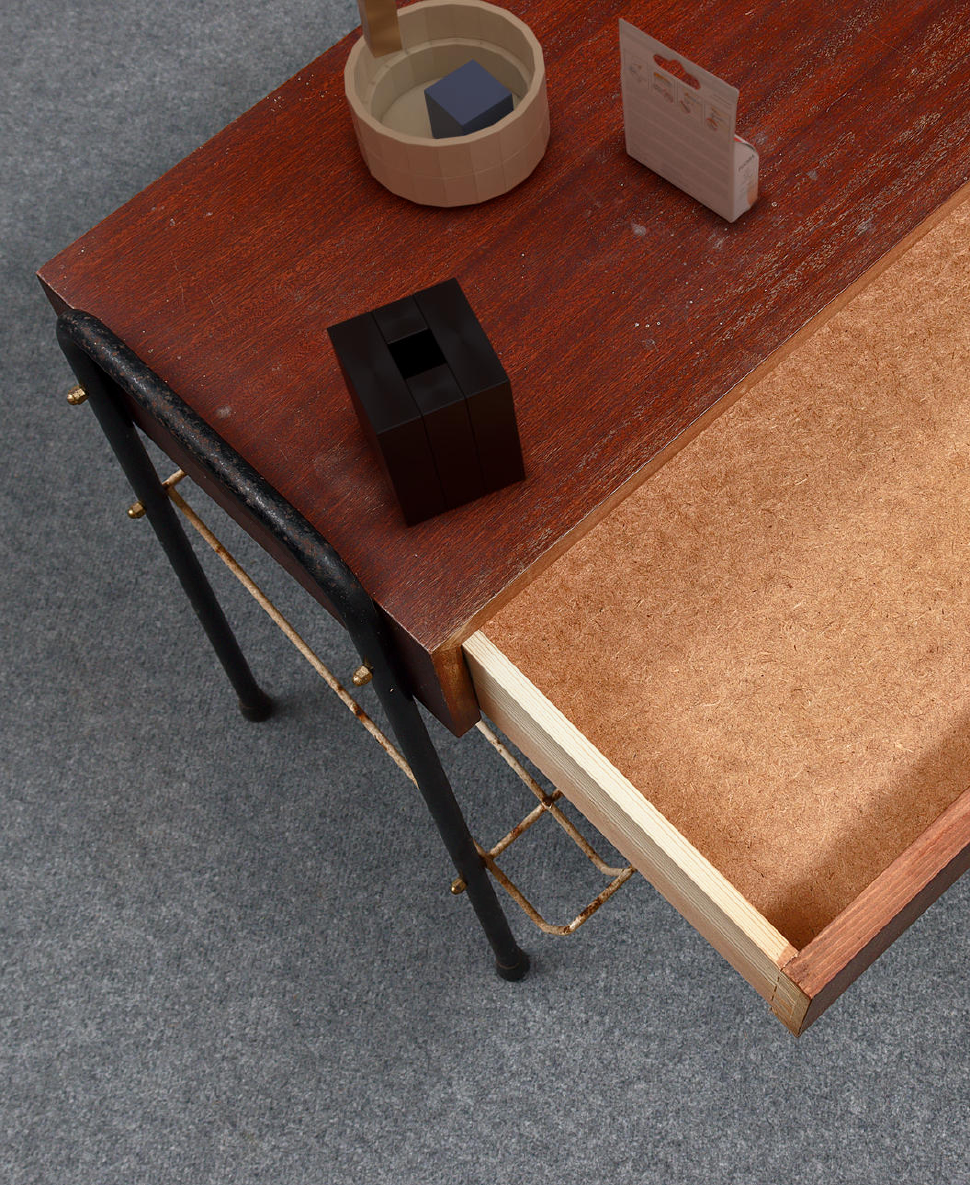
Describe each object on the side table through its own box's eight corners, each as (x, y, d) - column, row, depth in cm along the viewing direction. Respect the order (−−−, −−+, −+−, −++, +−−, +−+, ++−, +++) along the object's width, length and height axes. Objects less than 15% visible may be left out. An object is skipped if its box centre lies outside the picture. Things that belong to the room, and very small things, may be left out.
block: (469, 171, 90) (462, 125, 86) (432, 136, 91) (423, 90, 87) (517, 139, 91) (512, 93, 87) (480, 105, 92) (473, 58, 88)
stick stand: (407, 529, 79) (376, 434, 70) (361, 429, 82) (325, 327, 73) (526, 478, 80) (510, 379, 71) (476, 382, 83) (455, 276, 74)
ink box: (647, 131, 91) (647, -13, 81) (757, 203, 88) (771, 63, 78) (618, 157, 90) (614, 15, 80) (728, 230, 87) (739, 92, 77)
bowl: (403, 239, 88) (387, 173, 83) (335, 109, 93) (316, 38, 88) (581, 171, 90) (576, 101, 85) (504, 46, 95) (496, -27, 90)
